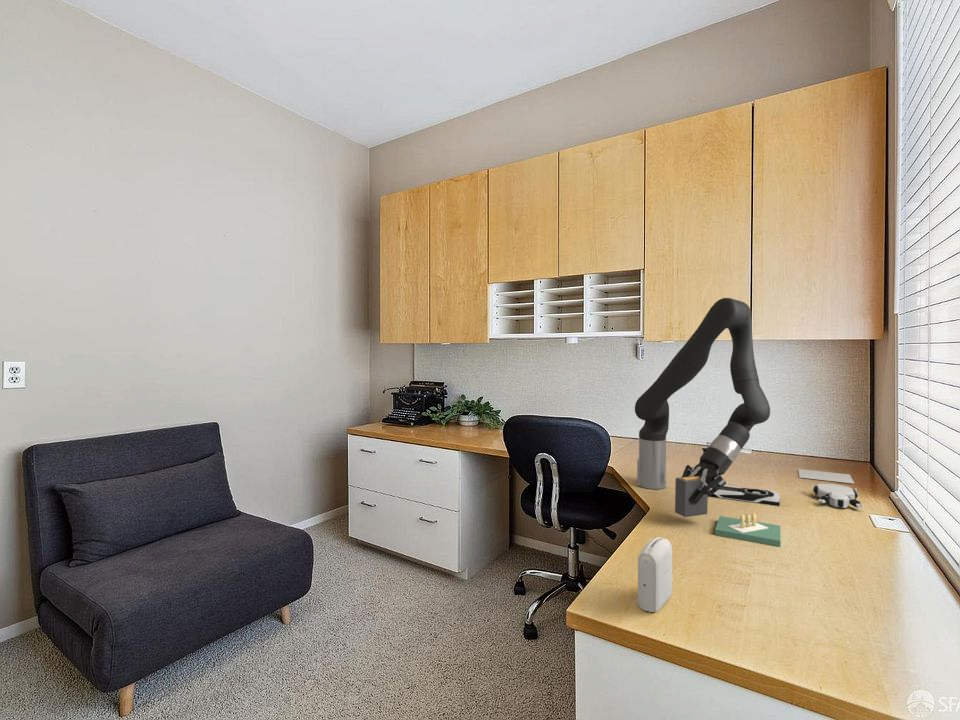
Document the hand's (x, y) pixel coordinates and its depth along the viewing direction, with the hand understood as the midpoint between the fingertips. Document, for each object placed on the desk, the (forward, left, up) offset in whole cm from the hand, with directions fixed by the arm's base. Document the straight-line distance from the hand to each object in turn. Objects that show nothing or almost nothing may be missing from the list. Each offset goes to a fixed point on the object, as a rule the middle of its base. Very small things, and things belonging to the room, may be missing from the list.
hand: (685, 499), depth 138 cm
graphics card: (+10, +35, -8) cm, 38 cm away
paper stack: (+33, +74, -8) cm, 82 cm away
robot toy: (+38, +44, -8) cm, 59 cm away
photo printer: (+1, -47, -7) cm, 47 cm away
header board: (+15, +2, -7) cm, 17 cm away
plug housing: (+1, +1, -4) cm, 5 cm away
